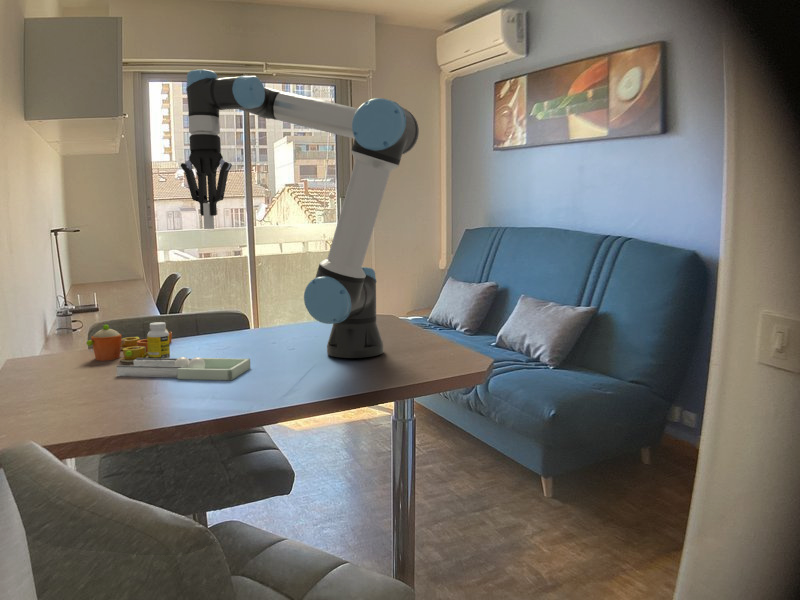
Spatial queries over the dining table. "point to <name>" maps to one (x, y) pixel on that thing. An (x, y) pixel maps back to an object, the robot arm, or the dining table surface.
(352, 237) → the robot arm
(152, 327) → the supplement bottle
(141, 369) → the slot rails
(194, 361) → the chip ball
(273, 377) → the dining table surface
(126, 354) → the toy tea set
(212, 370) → the tray
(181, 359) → the chip ball
